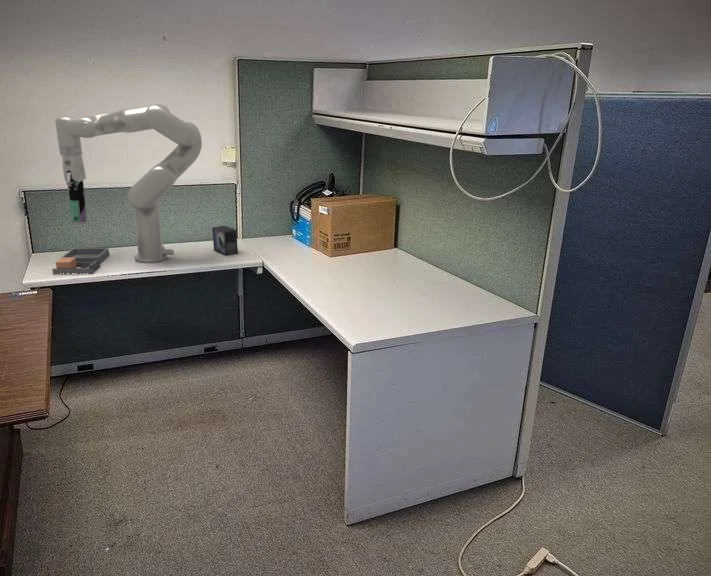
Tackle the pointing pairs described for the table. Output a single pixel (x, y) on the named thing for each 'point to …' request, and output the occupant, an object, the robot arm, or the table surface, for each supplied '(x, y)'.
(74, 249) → the tray
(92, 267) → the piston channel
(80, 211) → the spray can
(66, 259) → the block
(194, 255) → the table surface
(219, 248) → the small box
